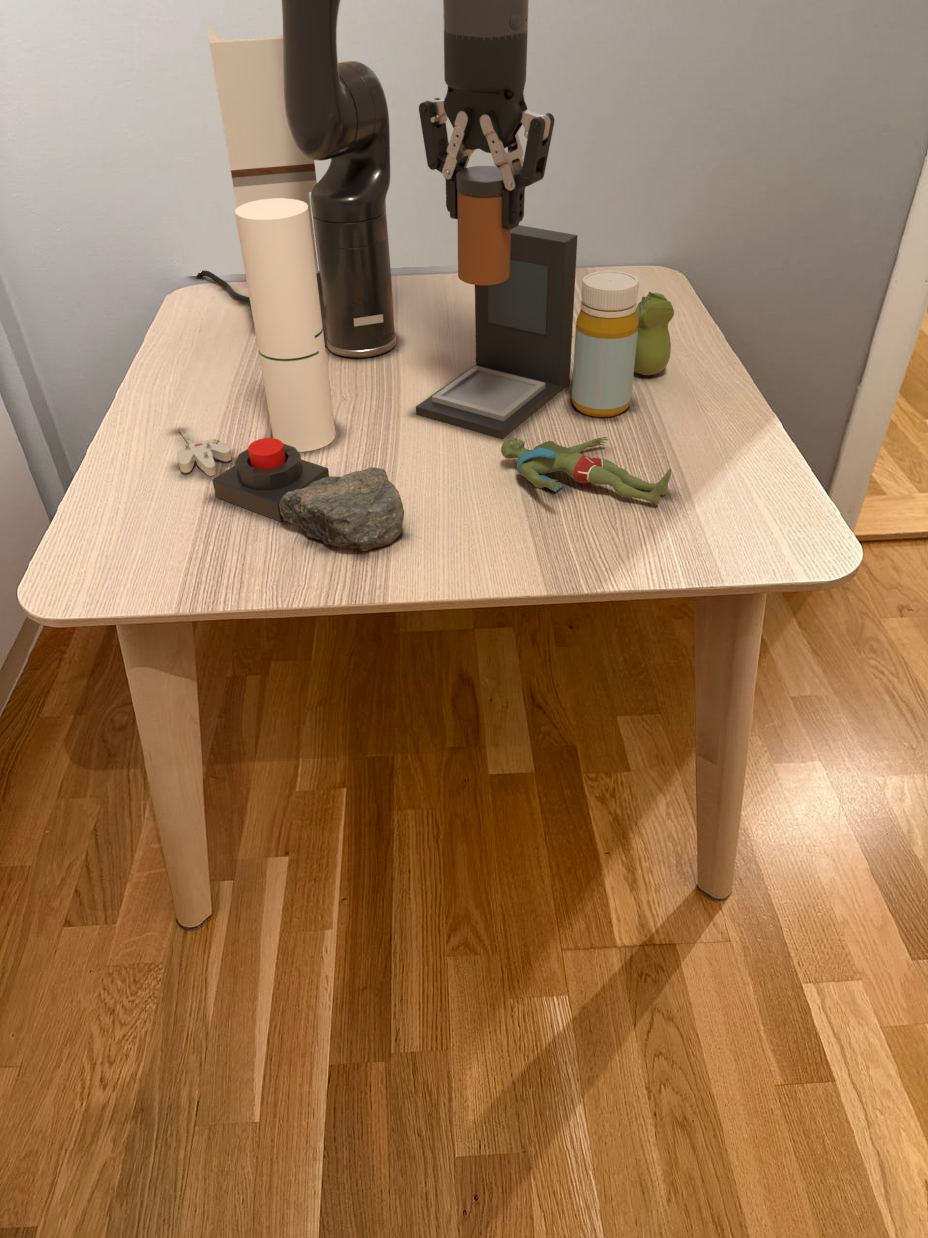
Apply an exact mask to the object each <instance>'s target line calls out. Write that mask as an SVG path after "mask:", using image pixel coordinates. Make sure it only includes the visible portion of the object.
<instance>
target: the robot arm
mask: <svg viewBox="0 0 928 1238" xmlns="http://www.w3.org/2000/svg"><path fill="white" fill-rule="evenodd" d="M341 2H342V0H281V16H282V36H283V78H284V102H285V111H286V117H287V122H288V126H289V129H290V133H291V135H292V137H293V139H294V141H295V143H296V145H297V147H298V148H299V149H300V150H301V152H302V153H303V154H305V155H306V156H307V157H308V158H310V159H313V160H314V161H317V162H318V161H321V162H322V161H327V160H330V162H329V163H328V167H327V169H326V171H325V173H324V174H323V176H322V177H321V178H320V180H319V181H318V182H317V184H316V185H315V186H314V188H313V190H312V192H310V206H311V214H312V223H313V231H314V240H315V248H316V256H317V265H318V273H316V276H317V284H318V292H319V301H320V309H321V318H322V326H323V334H324V342H325V347H327V349H328V351H330V352H331V353H333V354H334V355H338V356H340V357H345V358H358V359H359V358H360V359H361V358H370V357H375V356H379V355H383V354H385V353H387V352H389V351H391V350H393V349H394V347H396V344H397V333H396V325H395V311H394V298H393V283H392V268H391V255H390V243H389V231H388V216H387V215H388V214H387V195H388V192H389V189H390V184H391V130H390V128H391V127H390V113H389V112H390V111H389V105H388V99H387V96H386V93H385V88H384V86H383V84H382V81H381V80H380V78H379V76H378V75H377V74H376V72H375V70H373V69H372V67H370V66H369V65H368V64H366V63H364V62H362V61H358V60H347V61H346V60H345V61H342V62H339V57H338V21H339V15H340V13H339V12H340V9H341ZM529 2H530V1H529V0H442V9H443V10H442V12H443V14H442V16H443V17H442V18H443V72H444V73H443V74H444V75H443V76H444V78H443V79H444V83H445V85H446V86H447V90H446V94H445V97H444V99H441V98H440V97H434V98H431V99H428V100H425V101H423V102H420V104H419V105H418V113H419V114H418V115H419V121H420V125H421V132H422V138H423V145H424V151H425V158H426V164H427V167H428V168H429V169H430V170H432V171H435V170H437V172H439V173H441V174H442V176H443V178H444V179H445V207H446V210H447V212H448V213H449V218H450V219H453V220H458V206H457V189H456V174H457V172H458V171H459V170H461V169H464V168H468V164H469V161H470V159H471V156H472V154H474V153H475V151H476V150H480V151H483V152H484V153H488V154H491V157H492V160H493V163H494V166H495V167H498V168H499V170H500V173H501V176H502V179H503V182H504V186H505V188H506V189H504V190H503V214H502V227H503V228H504V229H508V230H511V229H513V228H515V227H517V226H518V225H520V222H522V221H523V219H524V216H525V194H526V193H525V192H526V188H527V187H530V186H531V185H533V184H535V183H537V182H539V181H541V180H543V178H544V177H545V174H546V173H545V172H546V168H547V163H548V158H549V151H550V147H551V141H552V138H553V137H552V136H553V132H554V125H555V117H554V115H553V114H552V113H551V112H546V113H544V114H540V113H537V112H534V111H532V110H529V109H528V105H527V103H526V100H525V95H524V91H525V86H526V81H527V63H528V31H529ZM447 120H449V123H450V124H451V126H452V127H453V129H452V133H451V136H450V139H449V135H448V128H447ZM522 126H523V128H524V133H523V136H524V137H525V138H526V139H527V140H526V145H525V149H524V151H523V147H522V144H521V141H520V137H519V134H518V133H519V131H520V129H521V128H522ZM505 149H507V151H506V150H505ZM523 156H524V157H523ZM201 271H202V272H201V273H199V272H198V273H197V275H196V277H195V278H196V279H197V280H201V279H202V278H203V277H207V278H208V279H211V280H213V281H214V282H215V283H217V284H218V285H219V286H221V287H223V288H224V289H225V290H226V292H227V293H228V294H229V295H230V296H231V297H233V298H234V299H235V300H238V301H240V302H244V303H247V304H250V298H249V296H246V295H242V294H240V293H238V292H236V291H235V290H234V289H233V287H232V286H231V285H230V284H229V283H228V282H226V281H225V280H224V279H222V278H221V277H219V276H218V275H217V274H215V273H213V272H211V271H209V270H201Z"/></svg>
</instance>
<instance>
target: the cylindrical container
mask: <svg viewBox="0 0 928 1238" xmlns="http://www.w3.org/2000/svg"><path fill="white" fill-rule="evenodd" d="M234 216H235V221H236V228H237V233H238V239H239V244H240V245H239V246H240V250H241V256H242V263H243V268H244V274H245V278H246V279H245V280H246V285H247V286H246V287H247V291H248V297H249V298H250V303H249V304H250V309H251V310H250V311H251V315H252V316H251V317H252V321H253V327H254V333H255V340H256V344H257V345H256V346H257V350H258V357H259V363H260V368H261V375H262V380H263V386H264V387H263V388H264V392H265V397H266V404H267V409H268V416H269V422H270V428H271V433H272V438H275V439H278V440H280V441H282V443H283V444H286V445H289V446H292V447H295V448H296V450H297V451H298V452H299V453H302V452H303V453H305V452H311V451H316V450H319V449H322V448H324V447H327V446H328V445H330V444H331V443H332V442H333V441H334V440H335V438H336V426H335V416H334V407H333V400H332V392H331V384H330V383H331V382H330V375H329V367H328V360H327V359H328V357H327V351H326V346H325V342H324V334H323V326H322V318H321V309H320V301H319V292H318V284H317V276H316V267H315V259H314V251H313V243H312V235H311V227H310V219H309V211H308V205H307V204H306V203H305V202H303V201H300V200H295V199H286V198H273V199H263V200H257V201H252V202H248V203H245V204H243V205H241V206H239V207H238V208H237V207H236V208H235V209H234Z"/></svg>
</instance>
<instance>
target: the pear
mask: <svg viewBox="0 0 928 1238" xmlns="http://www.w3.org/2000/svg"><path fill="white" fill-rule="evenodd" d="M636 314H637V317H638V321H639V323H638V336H637V345H636V355H635V365H634V373H636V374H638V375H642V376H651V375H652V376H653V375H656V374H658V373H660V372H661V371H663V370H664V369H665V368H666V367H667V365H668V364H669V361H670V358H671V351H672V346H671V345H672V341H671V335H670V331H669V323H670V322H671V320H672V319H673V318H674V316H675V309H674V306H673V304H672V302H671V301H670V300H668V299H667V297H666V296H665V295H664V294H663V293H658V292H651V291H649V292H648V293H647V295H646V296H641V301H640V302H638V303H637V306H636Z"/></svg>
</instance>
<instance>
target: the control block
mask: <svg viewBox="0 0 928 1238" xmlns="http://www.w3.org/2000/svg"><path fill="white" fill-rule="evenodd" d="M283 445H284V451H285V457H286V461H285V463H284V464H282V465H281V466H279V467H275V468H271V469H257V468H254V467H252V465H251V463H250V458H249V452H248V448H246V449H245V450H243V451H242V452H241V453H239V454H238V455H237V458H236V460H235V462H234V465H233V466H231V467H230V468H228V469H226V470H225V471H223V472H222V473H220V474H219V475H217V476H216V477H214V478H212V479H211V481H212V485H213V490H214V494H215V498H216V499H219V500H221V501H224V502H228V503H230V504H232V505H235V506H237V507H241V508H243V509H246V510H249V511H251V512H253V513H256V514H259V515H262V516H265V517H267V518H270V519H272V520H274V521H279V522H282V521H285V520H284V518H283V517H282V515H281V512H280V506H279V504H280V501H281V499H282V497H283V496H284V495H285V494H286V493H287V492H290V491H293V490H295V489H302V488H306V487H307V486H308V485H310V484H311V483H312V482H314V481H317V480H320V479H322V478H324V477H330V472H329V467H326V466H323V465H320V464H317V463H314V462H311V461H307V460H305V459H302V456H301V452H298V451H297V450H296V448H295V447H292V446H289V445H286V444H283Z"/></svg>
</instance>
